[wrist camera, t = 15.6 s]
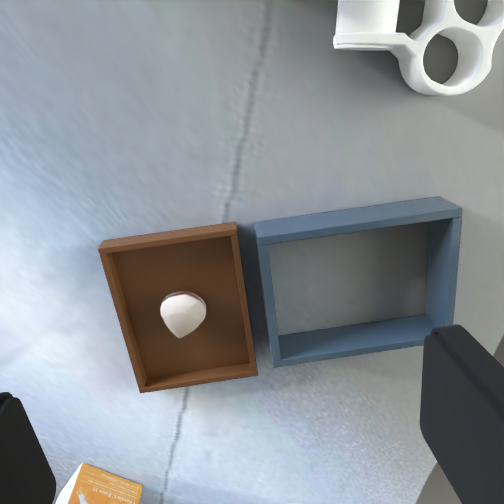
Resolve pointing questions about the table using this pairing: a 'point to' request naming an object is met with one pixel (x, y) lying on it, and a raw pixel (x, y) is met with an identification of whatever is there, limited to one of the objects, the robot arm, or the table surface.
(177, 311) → the white teardrop piece
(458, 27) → the white flat holed block
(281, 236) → the basin
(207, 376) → the tray
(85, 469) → the small box
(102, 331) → the table surface
